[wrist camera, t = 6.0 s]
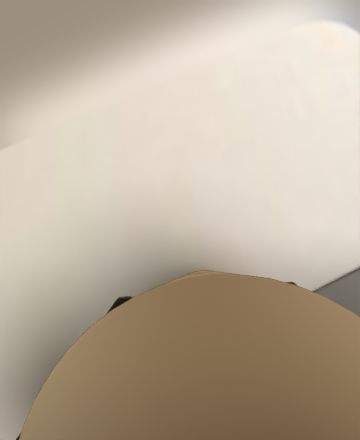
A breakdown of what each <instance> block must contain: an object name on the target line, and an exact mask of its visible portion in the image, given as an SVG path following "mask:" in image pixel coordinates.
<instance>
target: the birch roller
mask: <svg viewBox="0 0 360 440" xmlns="http://www.w3.org/2000/svg"><path fill="white" fill-rule="evenodd" d="M19 440H360V317H358V316H357V315H356V314H354V313H353V312H351V311H349V310H348V309H346V308H344V307H342V306H340V305H339V304H337V303H335V302H333V301H331V300H330V299H328V298H326V297H324V296H321V295H319V294H317V293H314V292H312V291H309V290H307V289H304V288H302V287H299V286H296V285H293V284H289V283H285V282H281V281H278V280H274V279H270V278H263V277H255V276H248V275H240V274H231V273H222V272H213V271H197V272H193V273H190V274H188V275H185V276H183V277H180V278H178V279H175V280H173V281H171V282H168V283H166V284H163V285H161V286H158V287H156V288H154V289H151V290H149V291H147V292H144V293H142V294H139V295H137V296H135V297H133V298H132V299H130V300H128V301H127V302H125V303H123V304H121V305H120V306H118V307H116V308H115V309H113V310H112V311H110V312H109V313H108V314H106V315H105V316H104V317H103V318H101V319H100V320H99V321H97V322H96V323H95V324H94V325H92V326H91V327H90V328H89V329H88V330H87V331H86V332H85V333H84V334H83V335H82V336H81V337H80V338H79V339H78V340H77V341H76V342H75V343H74V344H73V345H72V346H71V347H70V348H69V349H68V351H67V352H66V353H65V355H64V356H63V357H62V359H61V360H60V361H59V362H58V364H57V365H56V366H55V368H54V369H53V370H52V372H51V373H50V375H49V377H48V378H47V380H46V382H45V383H44V385H43V387H42V388H41V390H40V392H39V393H38V395H37V397H36V399H35V401H34V403H33V406H32V408H31V410H30V412H29V415H28V417H27V419H26V421H25V423H24V426H23V429H22V432H21V435H20V438H19Z"/></svg>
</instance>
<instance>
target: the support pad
mask: <svg viewBox="0 0 360 440" xmlns="http://www.w3.org/2000/svg"><path fill="white" fill-rule="evenodd" d="M314 293H317V294H319V295H321V296H324V297H326V298H328V299H330V300H331V301H333V302H335V303H337V304H339V305H340V306H342V307H344V308H346V309H348V310H349V311H351V312H353V313H354V314H356V315H357V316H358V317H360V269H358V270H356V271H354V272H352V273H350V274H348V275H346V276H344V277H342V278H340V279H338V280H336V281H334V282H332V283H330V284H328V285H326V286H324V287H322V288H320V289H318V290H316V291H314Z"/></svg>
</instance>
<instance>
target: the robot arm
mask: <svg viewBox="0 0 360 440" xmlns="http://www.w3.org/2000/svg"><path fill="white" fill-rule="evenodd" d="M285 283H289V284H293V285H296V284H295V283H294V282H285ZM296 286H297V285H296ZM130 299H132V297H131V296H125V297H119V298H118V299H117V300H116V301H115V303H114V304H113V305H112V307H111V308H110V310H109V311H108V312H107V314H108V313H109V312H110V311H112V310H113V309H115V308H116V307H118V306H120V305H121V304H123V303H125V302H127V301H128V300H130ZM20 435H21V433H20ZM20 435H19V436H18V437H17V439H16V440H19V438H20Z"/></svg>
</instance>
